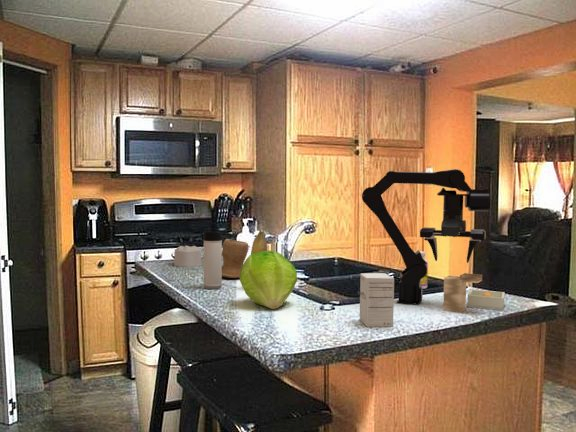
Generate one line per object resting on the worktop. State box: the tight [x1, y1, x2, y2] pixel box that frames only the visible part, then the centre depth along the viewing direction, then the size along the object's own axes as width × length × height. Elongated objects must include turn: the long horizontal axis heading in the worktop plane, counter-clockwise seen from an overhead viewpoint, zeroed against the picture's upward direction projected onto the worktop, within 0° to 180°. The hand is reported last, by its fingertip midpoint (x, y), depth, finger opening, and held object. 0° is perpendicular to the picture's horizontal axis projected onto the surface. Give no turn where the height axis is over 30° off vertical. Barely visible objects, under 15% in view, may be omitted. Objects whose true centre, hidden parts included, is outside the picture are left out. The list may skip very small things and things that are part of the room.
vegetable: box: [250, 231, 268, 255], centre depth 183 cm, size 6×6×20 cm
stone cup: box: [222, 238, 249, 279], centre depth 207 cm, size 15×12×15 cm
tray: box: [466, 289, 506, 311], centre depth 160 cm, size 10×10×4 cm
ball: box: [482, 292, 493, 297], centre depth 161 cm, size 3×3×3 cm
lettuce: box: [239, 250, 298, 310], centre depth 158 cm, size 17×20×16 cm
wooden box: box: [442, 272, 483, 314], centre depth 152 cm, size 9×5×11 cm, turn 56°
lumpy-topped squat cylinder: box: [174, 245, 202, 268], centre depth 238 cm, size 10×13×9 cm
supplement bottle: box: [413, 250, 429, 290], centre depth 188 cm, size 7×7×13 cm
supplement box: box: [359, 272, 395, 328], centre depth 137 cm, size 7×7×13 cm
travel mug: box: [203, 231, 223, 290], centre depth 184 cm, size 6×7×20 cm
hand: (451, 261), depth 161 cm, fingers open, 9 cm apart
